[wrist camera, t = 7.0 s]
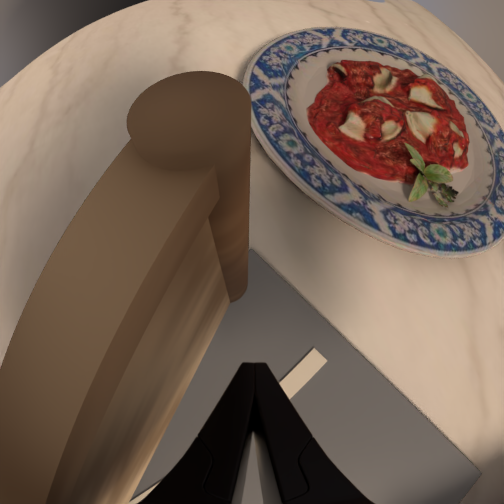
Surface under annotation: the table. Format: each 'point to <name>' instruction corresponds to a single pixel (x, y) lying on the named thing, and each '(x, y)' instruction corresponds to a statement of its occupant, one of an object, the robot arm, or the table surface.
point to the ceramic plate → (381, 139)
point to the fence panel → (130, 299)
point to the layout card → (317, 402)
